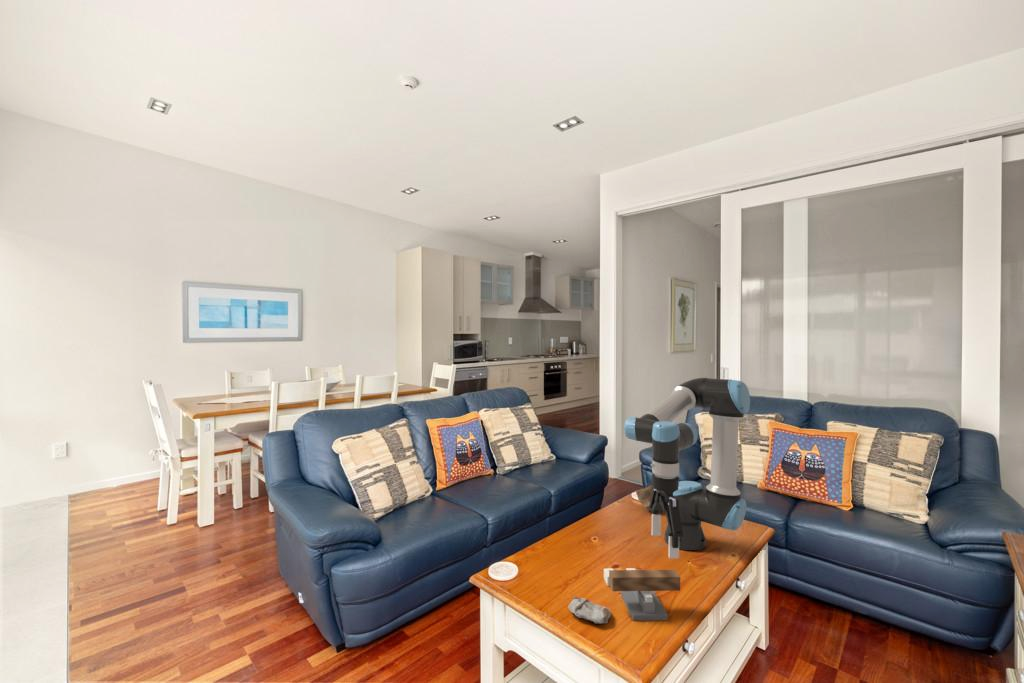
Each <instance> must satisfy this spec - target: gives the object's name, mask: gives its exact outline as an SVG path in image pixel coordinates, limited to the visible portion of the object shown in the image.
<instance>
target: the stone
mask: <svg viewBox="0 0 1024 683" xmlns="http://www.w3.org/2000/svg"><path fill="white" fill-rule="evenodd" d="M571 599H572V600H571V602H569V604H568V606H567V607H568V610H569V611H570V612H571V613H572V614H574V615H575V616H576V617H577V618H579V619H580V618H581V619H584V620H587V621H590V622H593V623H594V624H608V623H609V622H608V621H609V619H610V618H611V616H612V611H611V610H610V609H609V608H608V607H606V606H604V605H600V604H596V603H594V602H592V601H591V600H589V599H588V598H584V597H583V598H582V597H578V596H575V597H572V598H571Z"/></svg>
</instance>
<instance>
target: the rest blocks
mask: <svg viewBox="0 0 1024 683" xmlns="http://www.w3.org/2000/svg"><path fill="white" fill-rule="evenodd" d="M609 570H614V569H613V568H612V567H611V568H603V579H604V582H605V585H606V586H607V587H610V585H609ZM625 570H637V569H636V568H635V567H634V568H633V567H632V568H631V567H629V568H628V567H627V568H625Z"/></svg>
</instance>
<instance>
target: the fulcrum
mask: <svg viewBox="0 0 1024 683" xmlns="http://www.w3.org/2000/svg"><path fill="white" fill-rule="evenodd" d="M620 595H621V598H622V601H623V603H624V605H625V606H626V609H627V611H628V613H629V615H630V617H631V619H632V621H669V614H668V612H667V611H666V609H665V607H664V605H663V604H662V603H661V601H660V599H659V598H658V596H657V594H656V593H655V591H620Z"/></svg>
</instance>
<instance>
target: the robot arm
mask: <svg viewBox="0 0 1024 683" xmlns="http://www.w3.org/2000/svg"><path fill="white" fill-rule="evenodd" d="M693 408H702V409H708V415H709V416H710V417H711V418H712V438H711V439H712V440H711V463H710V482H709V484H707V485H706V487H705V488H704V489H703V485H702V483H700V482H697V481H694V480H679V479H680V477H679V475H680V452H681V451H683V450H686V449H689V448H690V447H692V446H693V445H695V444H696V443H697V441H698V439H699V438H698V437H699V434H698V431H697V429H696V427H695V426H694V425H692V424H691V423H688V422H679V423H676V422H673V421H675V419H677V418H678V417H680V415H681V414H684V412H685V411H689V410H692V409H693ZM750 409H751V395H750V391H749V388H748V386H747V385H746V383H744V381H742V380H736V379H729V378H727V379H724V378H713V377H711V378H710V377H709V378H707V377H697V378H692V379H690V380H687V381H684V382H681V384H679V385H676V387H674V389H672V391H671V393H670V395H668V396H667V397H666V398H664V399H663V400H661V402H659V403H658V404H656V405H655V406H654V407H652V408H651V409H649V410H648V411H647V412H646V413H644V414H643V415H642V416H640V417H637V416H632V417H631V416H629V417H628V418H627V419H626V420H625V422H624V427H623V431H624V435H625V437H626V438H627V439H629V440H633V441H635V442H640V443H641V442H642V443H646V444H652V446H651V448H652V449H651V450H652V451H651V452H652V453H651V454H652V456H651V457H652V458H651V461H652V462H651V463H650V467H651V472H652V473H653V474H652V475H651V485H652V487H653V490H652V495H651V499H650V503H649V509H651V510H650V513H651V536H652V537H661V535H662V515H661V514H662V512H664V513H665V517H666V518H665V519H666V522H667V525H666V527H665V530H664V536H663V538H664V541H665V543H666V544H668V554H667V555H668V559H680V550H682V551H687V550H690V551H689V552H692V551H691V550H699V551H701V550H700V549H702V550H704V549H705V548H706V547H707V540H706V539H707V538H706V535H705V532H704V529H703V527H702V522H703V523H706V524H710V525H712V526H716V527H719V528H722V529H725V530H730V531H737V530H738V529H740V527H741V526H742V524H743V522H744V519H745V516H746V513H747V502H746V499H744V498H742V497H741V495H742V494H741V491H740V490H739V489H738V488H737V477H738V476H737V474H738V473H737V472H738V448H739V447H738V446H739V423H740V421H742V420H743V419H744V417H745V416H744V415H745V414H747V413H749V411H750ZM662 510H663V511H662ZM705 546H706V547H705ZM704 547H705V548H704ZM703 548H704V549H703Z"/></svg>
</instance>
